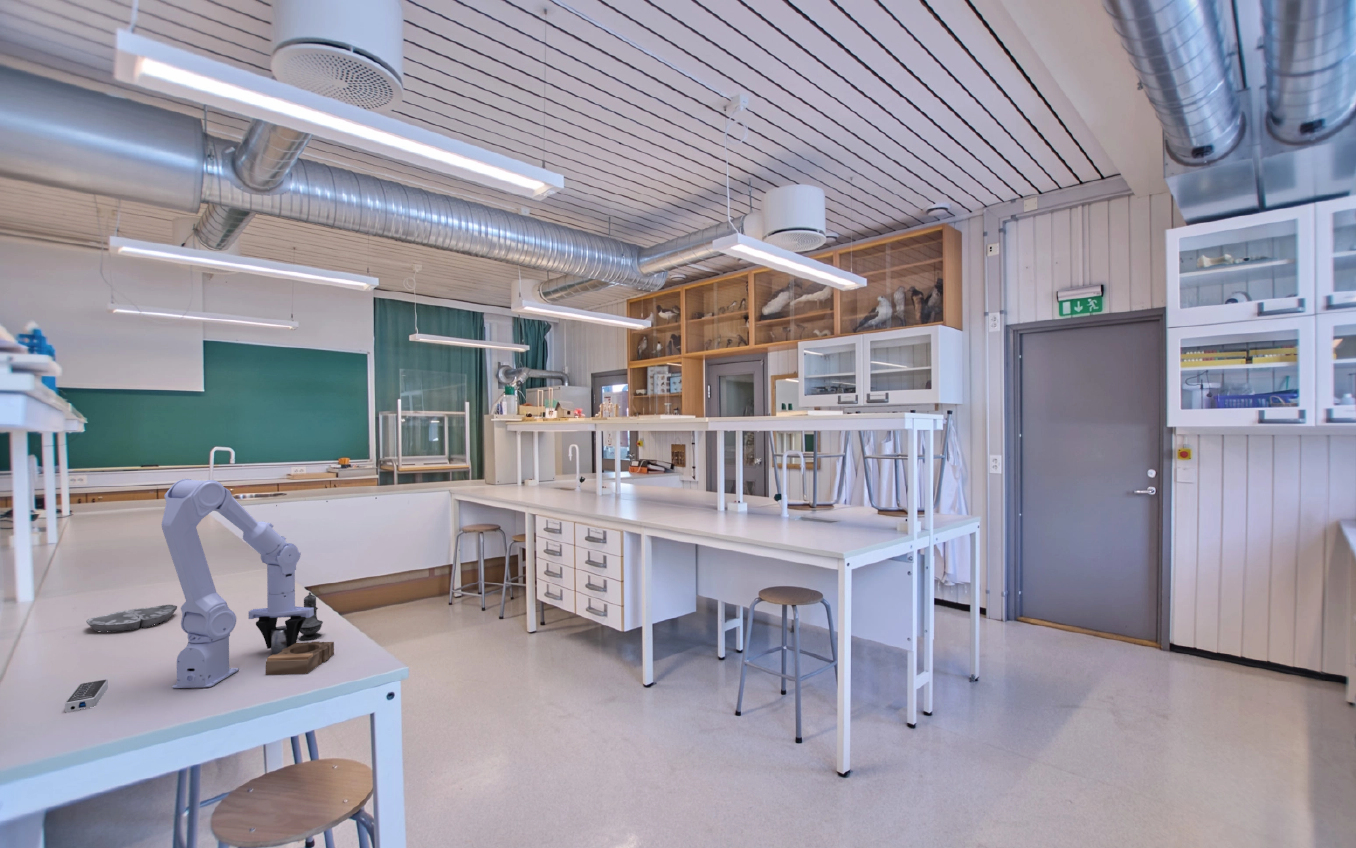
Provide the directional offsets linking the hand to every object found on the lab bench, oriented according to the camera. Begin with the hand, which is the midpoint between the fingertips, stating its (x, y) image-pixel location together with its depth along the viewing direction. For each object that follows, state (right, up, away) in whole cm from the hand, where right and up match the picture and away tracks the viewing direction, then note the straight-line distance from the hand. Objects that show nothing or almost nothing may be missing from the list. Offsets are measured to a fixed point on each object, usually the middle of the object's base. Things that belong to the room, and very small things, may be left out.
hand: (281, 647), depth 153 cm
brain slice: (-56, -3, +23) cm, 61 cm away
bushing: (0, -1, 0) cm, 1 cm away
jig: (+9, -1, -8) cm, 12 cm away
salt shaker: (0, -2, +11) cm, 11 cm away
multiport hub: (-23, -2, -26) cm, 35 cm away
